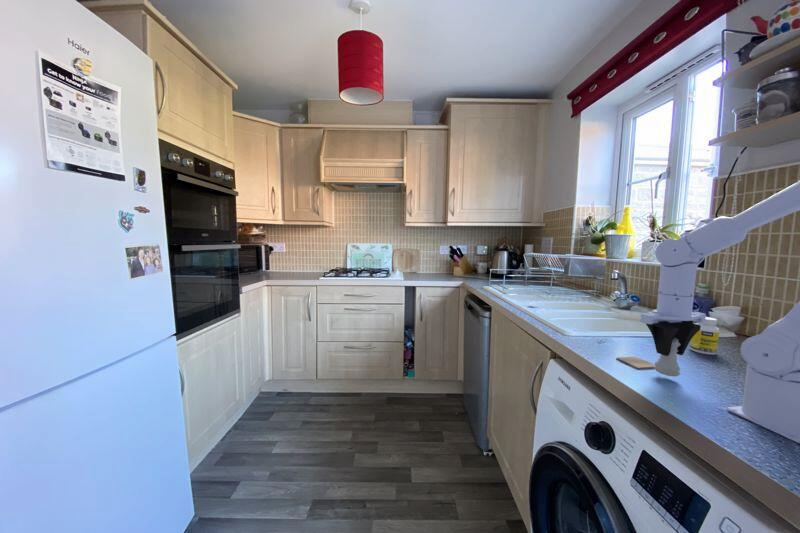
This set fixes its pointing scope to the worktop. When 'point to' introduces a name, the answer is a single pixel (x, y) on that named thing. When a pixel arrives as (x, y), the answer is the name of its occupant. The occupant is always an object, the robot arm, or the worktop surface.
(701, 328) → the supplement bottle
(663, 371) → the rook chess piece
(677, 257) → the robot arm
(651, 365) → the walnut tile
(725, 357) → the worktop surface
